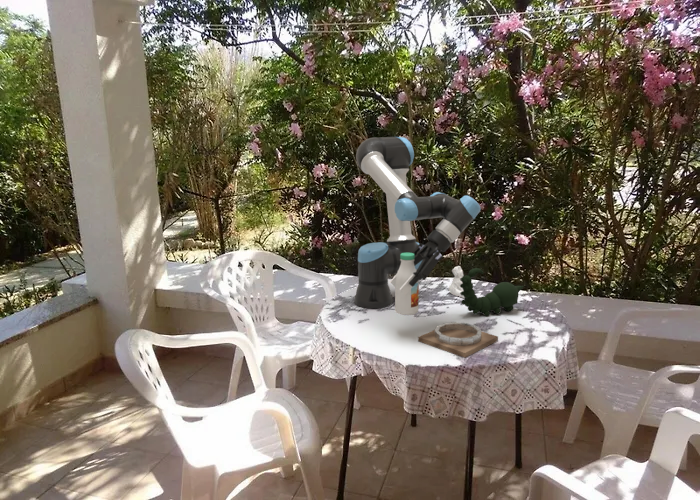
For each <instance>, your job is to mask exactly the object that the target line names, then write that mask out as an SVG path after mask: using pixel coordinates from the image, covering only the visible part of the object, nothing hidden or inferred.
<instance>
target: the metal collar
mask: <svg viewBox="0 0 700 500" xmlns="http://www.w3.org/2000/svg"><path fill="white" fill-rule="evenodd" d="M434 330H435V338H436V339H437V340H438V341H440V342H443V343H446V344H450V345H458V346H465V345H473V344H476V343H478V342H480V341H481V332H483V330H481V328H479V327H478V326H477V325H473V324H469V323H465V322H447V323H442V324H440V325H436V327H435V329H434ZM446 330H465V331H468V332H472V333H474V334H475V336H472V337H468V338H453V337H449V336H446V335H443V334H441V332H444V331H446Z"/></svg>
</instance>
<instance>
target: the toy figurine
mask: <svg viewBox="0 0 700 500" xmlns="http://www.w3.org/2000/svg"><path fill="white" fill-rule="evenodd" d="M477 274H482V275H483V274H484V271H483V270H482V269H481V268H479V267H475V268H472V269H470V270H469V271H468V274H466V275H465V274H464V275H463V277H462V278H460V281H462V283H463V284H461V285H460V287H461V288H463V291H462V292H461V293H460V294H461V295H463V296H464V297H465V298H463V299H462V300H461V304H462V305H465V307H467V310H468V311H469V312H472V313H473V315H478V314H479V313H480V314H483V315H484V316H485V317H487V316H490V312H493V313H495V314H496V315H497V314H500V313H501V311H502V309H501V308H503V310H504V311H505V312H512V311H513V310H514V305H517V304H518V302H519V301H518V300H519V292H520V291H521V290H522V289H523V288H524V285H514V284H513V283H511V282H507V281H502V282H499V283H498V284H496V285H495V286H493V288H492V290H491V292H487V293H486V294H485V295H484V296H479V297H477V295H476V292H475V289H474V284H473V282H472V278H473V277H475V276H476V275H477Z"/></svg>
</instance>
